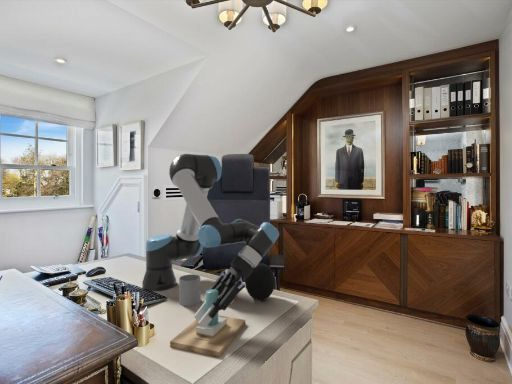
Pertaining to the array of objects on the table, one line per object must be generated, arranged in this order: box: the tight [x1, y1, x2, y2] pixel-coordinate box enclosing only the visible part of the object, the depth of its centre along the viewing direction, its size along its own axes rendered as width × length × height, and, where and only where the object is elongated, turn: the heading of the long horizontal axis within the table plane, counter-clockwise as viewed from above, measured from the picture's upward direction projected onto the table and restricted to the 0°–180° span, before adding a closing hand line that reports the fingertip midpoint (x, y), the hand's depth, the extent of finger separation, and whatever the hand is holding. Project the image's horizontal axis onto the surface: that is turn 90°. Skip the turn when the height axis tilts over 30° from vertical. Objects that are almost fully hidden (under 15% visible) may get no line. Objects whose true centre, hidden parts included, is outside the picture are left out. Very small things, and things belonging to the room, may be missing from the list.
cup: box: [178, 273, 202, 307], centre depth 117 cm, size 8×8×10 cm
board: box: [169, 314, 246, 358], centre depth 92 cm, size 16×20×2 cm
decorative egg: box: [244, 262, 276, 301], centre depth 120 cm, size 12×12×15 cm
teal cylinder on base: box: [196, 288, 227, 338], centre depth 92 cm, size 6×9×12 cm, turn 158°
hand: (199, 321), depth 90 cm, fingers closed on teal cylinder on base, 4 cm apart
